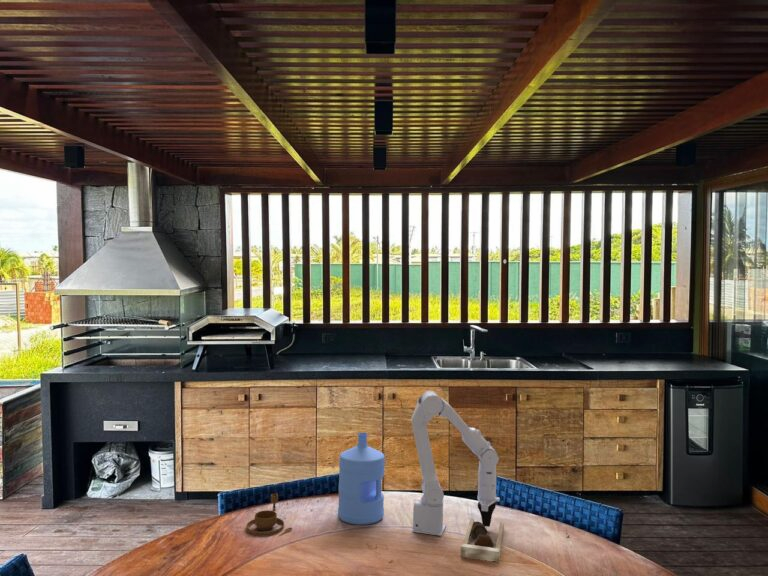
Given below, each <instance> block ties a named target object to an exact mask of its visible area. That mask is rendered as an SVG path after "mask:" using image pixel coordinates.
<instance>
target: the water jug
mask: <svg viewBox="0 0 768 576" xmlns="http://www.w3.org/2000/svg"><path fill="white" fill-rule="evenodd" d="M357 435H358V436H357V437H358V438H357V445H356V446H352V447H351V448H349V449H347V450H345V451H342V452H341V453H340V455H339V460H338V462H339V463H338V468H339V471H338V473H339V474H338V476H339V477H338V509H337V515H338V518H339V519H340V520H341V521H342V522H344V523H347V524H352V525H358V526H359V525H360V526H361V525H370V524H374V523H377V522H379V521H381V520H382V519H383V517H384V515H385V507H384V506H385V502H384V501H385V497H384V493H383V492H382V482H383V481H382V480H383V478H384V476H385V467H386V466H385V465H386V460H385V459H386V457H385V454H384V453H383V452H382V451H379V450H378V449H375V448H373V447H371V446H368V433H367V432H358V433H357Z"/></svg>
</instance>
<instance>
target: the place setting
mask: <svg viewBox="0 0 768 576" xmlns="http://www.w3.org/2000/svg"><path fill="white" fill-rule="evenodd" d="M278 501H279V494H278V493H271V494H270V502H271V503H272V510H266V509H265V510H261V511H258V512H256V513H255V514H254V518H253V519H251V520H250V521H248V522H247V523H246V526H245V527H246V530H247V532H249V533H250V534H252V535H254V536H261V537H262V536H263V537H264V536H271V535H275V534H278V533H279V532H281V531H283V529H284V528H285V521H284V520H283V519H282V518H280V517H277V516H278V513H277V512H276V508H277V507H276V504H277V503H278ZM276 524H279V525H280V527H279V528H277V529H273V530H271V529H272V528H273V527H274V526H275V525H276ZM254 525H255V526H256V527H257V528H258V529H259V530H260V531H255V530H252V529H251V527H252V526H254ZM292 530H293V527H287V528H286V529H285V530H284V531H283V532H282V533H281V534H279V535H278V537H281V536H283V535H284V534H286V533H290V532H291V531H292Z"/></svg>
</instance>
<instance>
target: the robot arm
mask: <svg viewBox="0 0 768 576" xmlns="http://www.w3.org/2000/svg"><path fill="white" fill-rule="evenodd" d="M437 415H438V416H439V417H440V418H441V417H442V418H446V419H447V420H449V422H450V423H451V424H452V425H453V426H454V427H455V428H456V429H457V431H459V432H460V433H461V441H462V442H463V443H464V444H465V445H466V446H467V447H468V448H469V450H470V451H471V452H472V453H473V454H474V455H476V457H477V459H478V471H477V472H478V473H477V474H478V475H477V477H478V479H477V480H478V481H477V485H478V487H477V501H478V502H477V508H478V511H479V513H480V517H481V518H480V519H481V523H482V524H484V526H485V527H486V528H487V527H488V528H489V527H490V525H491V523H492V518H493V513H494V511H495V509H496V505H497V502H500V501H501V500H500V499H501V498H500V497H498V496H497V465H498V463H499V460H500V457H499V455H498V453H497V451H496V450H495V449H494V447H493V446H492V443H491V442H490V441H489V440H488V441H487V440H486V438H485V437H484V436H483V435H482V432H481V430H480V429H476V427H469V426H468V424H466V423H465V421H464V420H463V419H462V417H460V415H459V414H458V413H457V411H456V410H455V409H454V408H453V407H452V406H451V404H449V402H447V401H446V400H445V399H444V398H442V397H441V396H440V397H439V395H438V392H436V391H433V390H426V391H424V392H423V393H422V394H420V396H419V397H418V398H417V402H416V405H415V408H414V411H413V413H412V415H411V418H410V419H411V426H412V431H413V436H414V442H415V447H416V452H417V457H418V461H419V465H420V471H421V478H422V481H421V485H420V488H421V491H422V496H421V498H420V499H415V501H414V502H413V503H414V504H413V510H412V511H413V512H412V514H413V515H412V533H417V534H418V533H419V534H425V535H426V534H427V535H432V536H439V537H440V536H441V537H442V536H443V533H444V531H445V528H446V524H445V523H444V496H445V495H444V490H442V487H441V484H440V483H441V482H440V481H439V480H438V476H437V472H436V471H437V470H436V467H435V461H434V457H433V452H432V447H431V441H430V437H429V433H428V432H429V431H428V427H427V425H428V423H429V422H430V421H431V420H432V419H433V418H434V417H436V416H437ZM443 523H444V524H443Z"/></svg>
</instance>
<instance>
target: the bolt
mask: <svg viewBox="0 0 768 576" xmlns="http://www.w3.org/2000/svg"><path fill="white" fill-rule="evenodd" d="M471 531H472V535H473V537H474V538H475V540H474V541H473V545H476V546H483V547H490V548H495V544H494V542H493V540H492V538H491V536H490V534H488V530H487V527H486V526H484V524H483V523H482V522H480V521H474V524H473V528H472V530H471Z"/></svg>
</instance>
